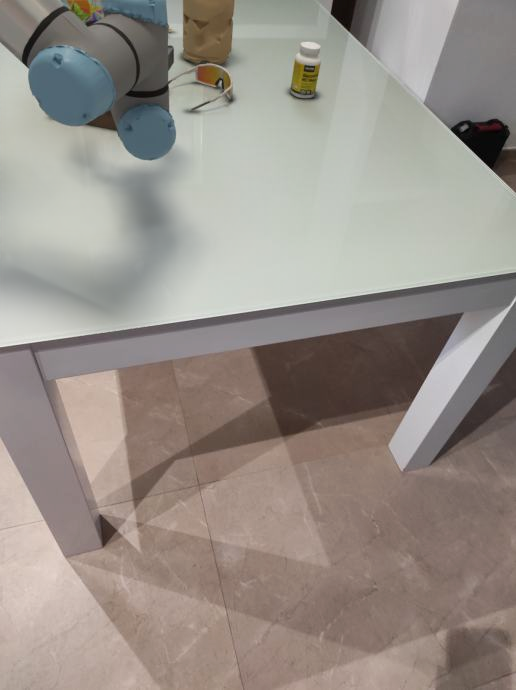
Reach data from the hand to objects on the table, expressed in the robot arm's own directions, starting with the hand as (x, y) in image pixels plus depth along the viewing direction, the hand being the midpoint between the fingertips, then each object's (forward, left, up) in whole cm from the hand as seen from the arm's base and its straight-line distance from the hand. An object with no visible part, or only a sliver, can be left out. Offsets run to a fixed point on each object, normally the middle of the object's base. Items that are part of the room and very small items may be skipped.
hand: (106, 37), depth 90 cm
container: (+7, +48, -18) cm, 52 cm away
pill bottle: (+34, +37, -18) cm, 53 cm away
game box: (-14, +31, -18) cm, 39 cm away
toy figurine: (-11, +63, -18) cm, 67 cm away
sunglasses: (+11, +25, -18) cm, 33 cm away
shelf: (-6, +11, -18) cm, 22 cm away
